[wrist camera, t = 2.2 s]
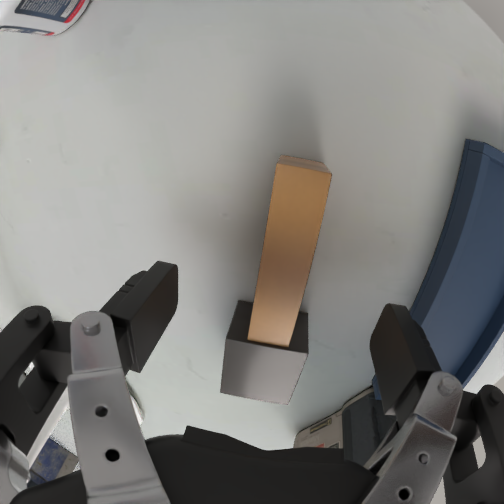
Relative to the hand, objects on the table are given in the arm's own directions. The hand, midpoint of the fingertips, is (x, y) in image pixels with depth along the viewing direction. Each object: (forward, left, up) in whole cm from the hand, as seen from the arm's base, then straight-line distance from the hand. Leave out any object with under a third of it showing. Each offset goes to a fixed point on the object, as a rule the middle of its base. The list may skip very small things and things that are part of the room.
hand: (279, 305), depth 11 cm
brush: (+3, 0, -6) cm, 7 cm away
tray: (+1, +13, -6) cm, 14 cm away
